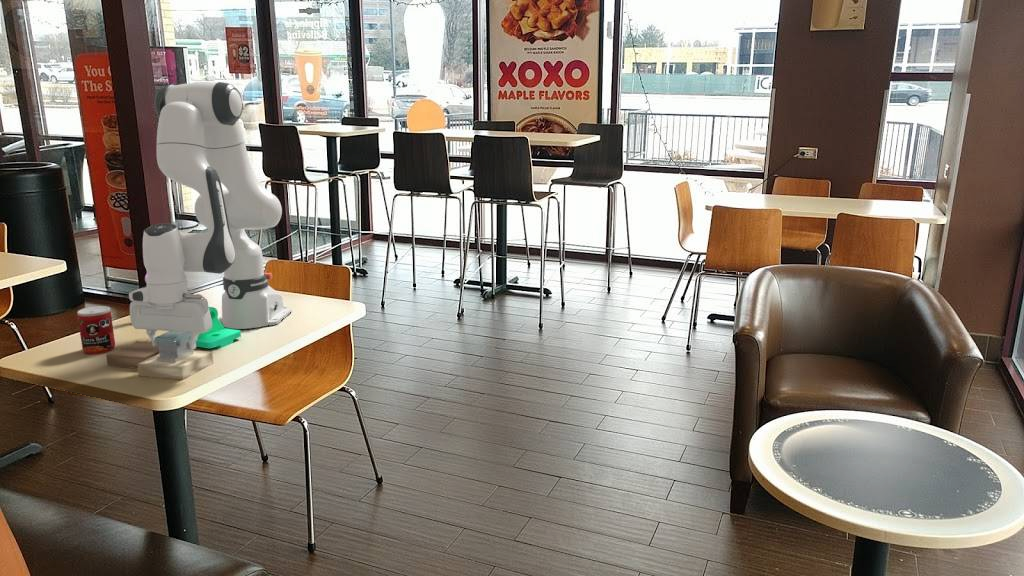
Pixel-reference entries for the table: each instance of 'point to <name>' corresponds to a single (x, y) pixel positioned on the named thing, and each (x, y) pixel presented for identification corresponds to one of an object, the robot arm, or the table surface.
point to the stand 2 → (176, 366)
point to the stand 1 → (132, 354)
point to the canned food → (96, 329)
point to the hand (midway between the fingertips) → (174, 347)
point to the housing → (173, 346)
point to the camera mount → (216, 333)
